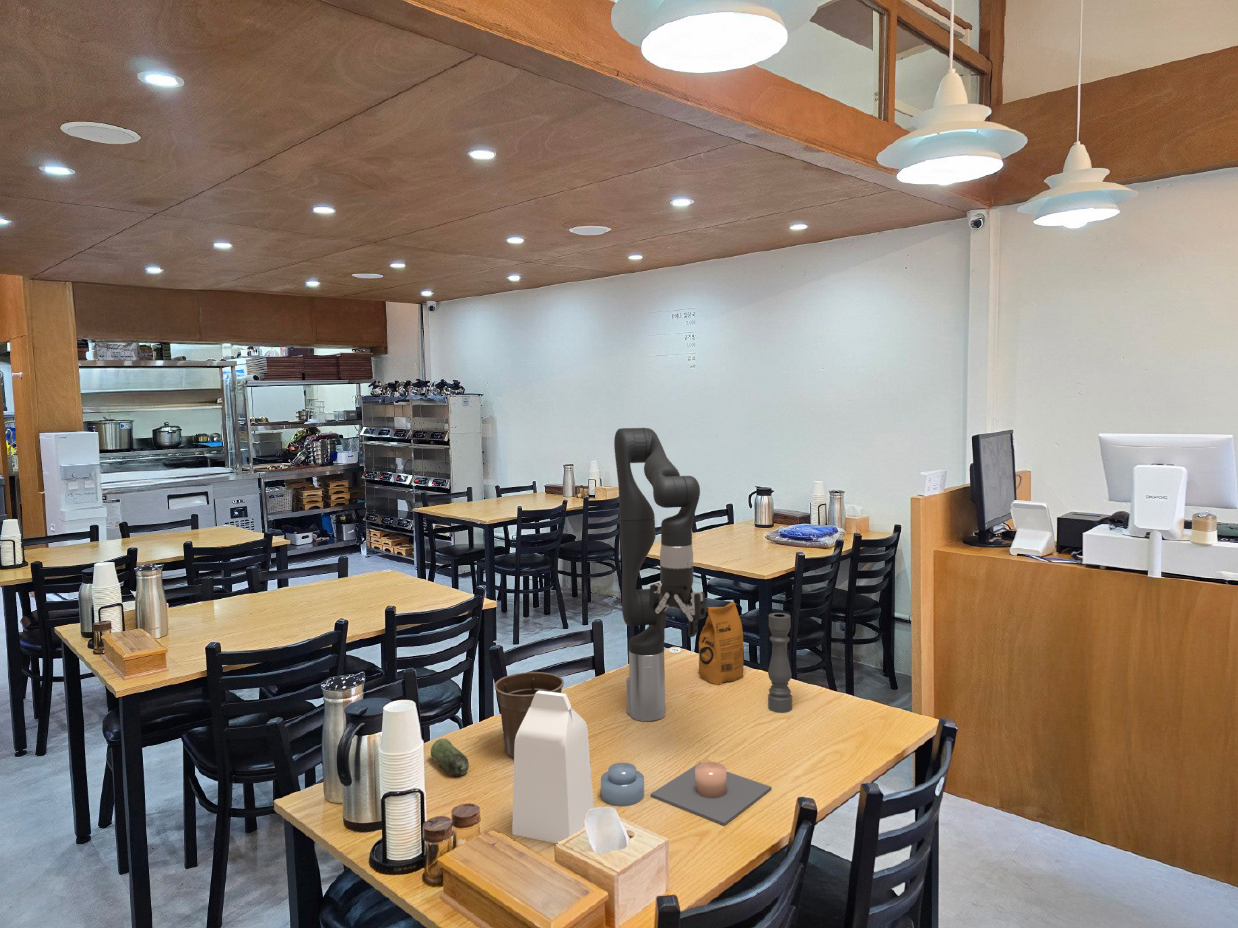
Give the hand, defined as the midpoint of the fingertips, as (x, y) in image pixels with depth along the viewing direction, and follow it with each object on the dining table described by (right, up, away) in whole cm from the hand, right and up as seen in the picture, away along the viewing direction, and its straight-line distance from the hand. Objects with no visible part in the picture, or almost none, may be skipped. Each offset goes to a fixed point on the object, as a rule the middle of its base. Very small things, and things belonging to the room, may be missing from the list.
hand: (676, 632), depth 176 cm
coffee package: (+17, -25, +51) cm, 59 cm away
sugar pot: (-13, -30, -17) cm, 37 cm away
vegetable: (-51, -30, -3) cm, 60 cm away
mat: (+6, -30, -17) cm, 35 cm away
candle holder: (+29, -26, +27) cm, 48 cm away
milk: (-26, -31, -28) cm, 49 cm away
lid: (+6, -29, -17) cm, 34 cm away
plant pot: (-34, -29, +5) cm, 45 cm away
